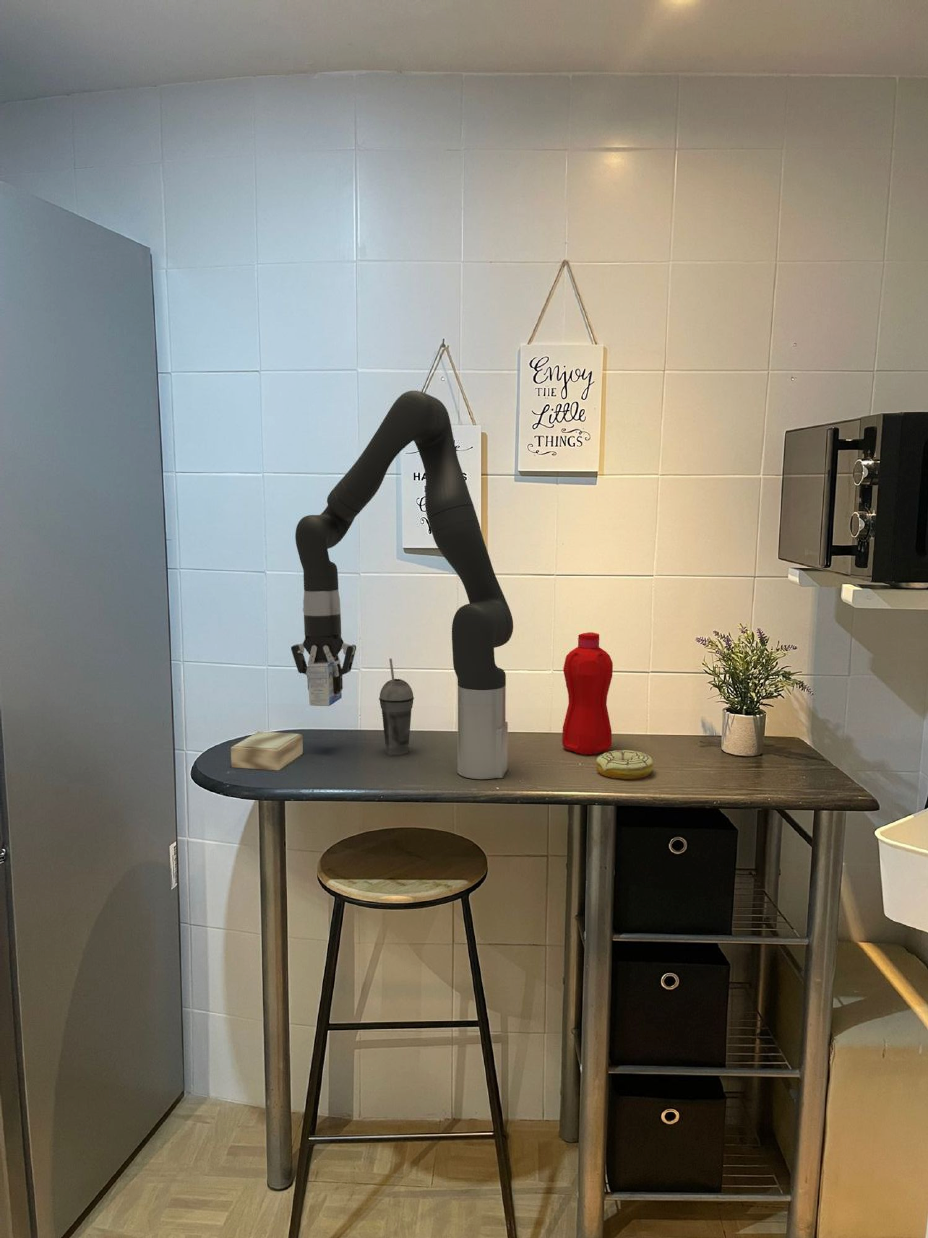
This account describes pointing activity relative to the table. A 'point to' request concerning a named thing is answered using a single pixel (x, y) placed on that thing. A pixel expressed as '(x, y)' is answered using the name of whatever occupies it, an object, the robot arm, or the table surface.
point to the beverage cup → (396, 714)
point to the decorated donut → (624, 764)
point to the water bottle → (587, 697)
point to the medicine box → (321, 684)
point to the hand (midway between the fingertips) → (325, 693)
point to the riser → (267, 750)
